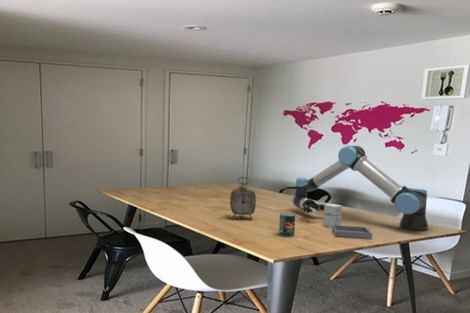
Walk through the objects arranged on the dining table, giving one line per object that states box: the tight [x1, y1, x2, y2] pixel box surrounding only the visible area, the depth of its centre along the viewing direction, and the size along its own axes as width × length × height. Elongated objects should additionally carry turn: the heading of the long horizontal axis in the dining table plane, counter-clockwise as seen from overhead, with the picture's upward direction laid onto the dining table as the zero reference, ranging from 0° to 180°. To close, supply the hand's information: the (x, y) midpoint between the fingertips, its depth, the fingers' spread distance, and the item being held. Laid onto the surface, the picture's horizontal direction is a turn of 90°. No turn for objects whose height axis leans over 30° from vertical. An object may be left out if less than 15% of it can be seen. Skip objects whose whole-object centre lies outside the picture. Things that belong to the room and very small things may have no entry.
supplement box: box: [323, 203, 343, 229], centre depth 232 cm, size 7×7×13 cm
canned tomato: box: [278, 212, 296, 238], centre depth 209 cm, size 8×8×11 cm
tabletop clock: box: [229, 176, 257, 221], centre depth 244 cm, size 14×9×25 cm, turn 95°
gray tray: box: [331, 225, 373, 240], centre depth 216 cm, size 18×14×3 cm
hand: (325, 211), depth 239 cm, fingers open, 13 cm apart
